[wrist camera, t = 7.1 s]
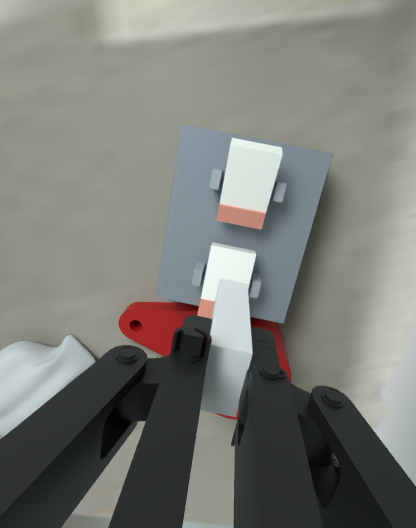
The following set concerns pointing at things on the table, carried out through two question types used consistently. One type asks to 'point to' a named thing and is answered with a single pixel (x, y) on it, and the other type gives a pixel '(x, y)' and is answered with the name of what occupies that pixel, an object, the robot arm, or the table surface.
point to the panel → (259, 240)
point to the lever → (170, 318)
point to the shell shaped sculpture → (36, 376)
